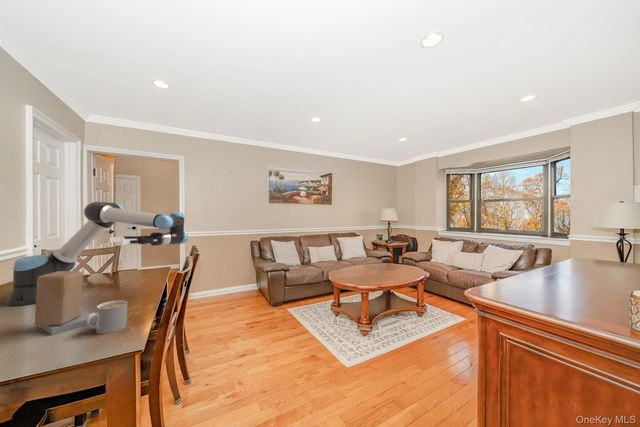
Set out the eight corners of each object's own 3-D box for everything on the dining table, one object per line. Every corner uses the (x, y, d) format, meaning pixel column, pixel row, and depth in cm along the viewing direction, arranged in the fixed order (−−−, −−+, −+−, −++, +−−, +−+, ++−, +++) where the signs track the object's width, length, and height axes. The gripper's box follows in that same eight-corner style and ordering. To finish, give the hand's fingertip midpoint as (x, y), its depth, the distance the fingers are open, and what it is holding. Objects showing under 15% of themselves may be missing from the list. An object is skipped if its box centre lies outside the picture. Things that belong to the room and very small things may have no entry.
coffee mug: (123, 321, 112) (124, 298, 112) (128, 328, 105) (130, 304, 105) (82, 331, 101) (83, 306, 102) (85, 339, 95) (86, 313, 95)
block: (62, 326, 100) (64, 276, 100) (33, 327, 98) (35, 276, 98) (81, 316, 109) (84, 270, 110) (55, 316, 108) (58, 270, 108)
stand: (39, 326, 104) (39, 320, 104) (83, 315, 116) (83, 310, 116) (51, 335, 97) (52, 328, 97) (97, 322, 109) (97, 316, 109)
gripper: (171, 247, 138) (127, 250, 119) (148, 243, 150) (104, 246, 132) (172, 233, 138) (128, 235, 120) (148, 230, 150) (105, 231, 132)
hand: (115, 240), depth 126 cm, fingers open, 13 cm apart
